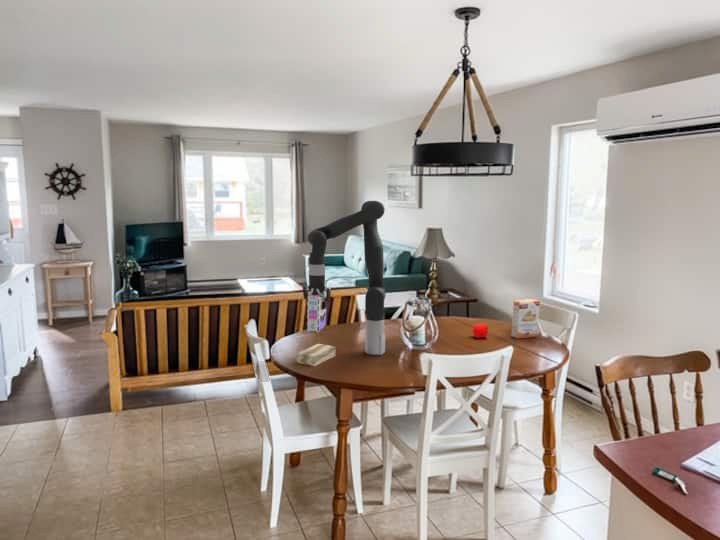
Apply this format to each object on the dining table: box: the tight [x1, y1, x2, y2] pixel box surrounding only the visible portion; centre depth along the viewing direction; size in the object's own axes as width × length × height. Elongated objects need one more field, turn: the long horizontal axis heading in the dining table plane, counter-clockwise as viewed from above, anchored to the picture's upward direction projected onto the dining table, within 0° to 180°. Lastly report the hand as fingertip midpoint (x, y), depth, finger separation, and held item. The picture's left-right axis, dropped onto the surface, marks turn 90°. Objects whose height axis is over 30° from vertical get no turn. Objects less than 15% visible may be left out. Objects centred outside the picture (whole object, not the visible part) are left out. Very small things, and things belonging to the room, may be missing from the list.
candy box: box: [306, 292, 327, 333], centre depth 243 cm, size 14×6×16 cm, turn 168°
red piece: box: [472, 323, 489, 339], centre depth 288 cm, size 8×8×8 cm
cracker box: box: [510, 298, 541, 340], centre depth 290 cm, size 14×6×21 cm, turn 111°
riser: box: [296, 343, 336, 367], centre depth 246 cm, size 10×18×5 cm, turn 151°
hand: (316, 308), depth 243 cm, fingers closed on candy box, 6 cm apart
